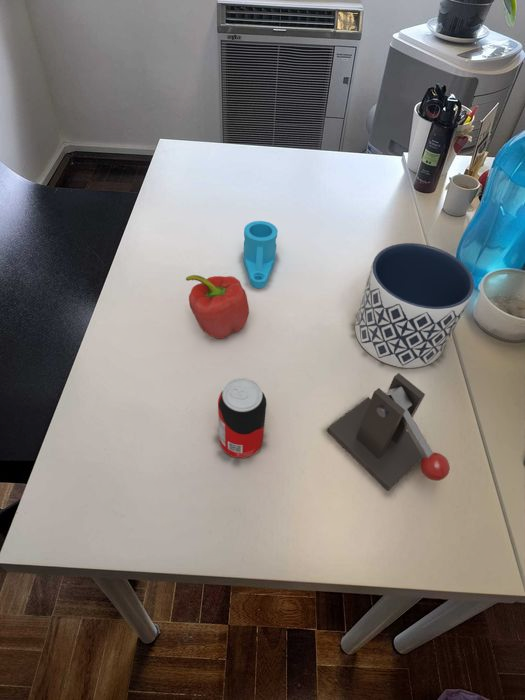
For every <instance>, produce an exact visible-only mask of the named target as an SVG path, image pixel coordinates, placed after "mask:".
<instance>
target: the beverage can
mask: <svg viewBox="0 0 525 700" xmlns="http://www.w3.org/2000/svg"><path fill="white" fill-rule="evenodd" d="M217 413H218V416H217V417H218V440H219V441H218V442H219V444H220V447H221V449H222V450H223V451H224V452H225V453H226V454H228V455H229V456H231V457H234V458H238V459H244V458H245V459H246V458H249V457H252V456H254V455H255V454H257V452H258V451H259V450H260V449H261V448H262V445H263V442H264V433H265V423H266V422H265V421H266V413H267V399H266V395H265V393H264V392H263V390H262V388H261V386H260V385H259V384H258V383H257V382H256V381H255V380H252V379H249V378H246V377H245V378H242V377H241V378H235V379H232V380H230V381H229V382H228V383H227V384H225V386H224V387H223V390H221V392H220V394H219V396H218V399H217Z"/></svg>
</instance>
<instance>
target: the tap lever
mask: <svg viewBox="0 0 525 700" xmlns="http://www.w3.org/2000/svg"><path fill="white" fill-rule="evenodd" d="M384 393H385V394H387V395H388V396H389V397H390V398H391V399H393V400H394V401H395V402H396V403H397V404H398V405H400V406H401V407H402V408H403V409H404V410H405V412H404V414H403V416H402V418H401V421H402V423H403V424H404V426H405V428H406V431H408V433H409V434H410V436H411V438H412V439H413V441H414V443H415V445H416V446H417V448H418V450H419V451H420V453H421V455H422V456H423V458H422V460H421V461H420V471H421V473H422V474H423V476H424V477H425V478H426V479H428V480H430V481H434V482H439V481H442V480H444V479H446V478H447V477H448V475H449V473H450V470H451V469H450V468H451V466H450V463H449V460H448V458H446V456H445V455H443V454H442V453H440V452H434V451H433V450H432V448H431V447H430V445H429V443H428V441H427V440H426V437H424V435H423V432H421V429H420V428H419V426H418V424H417V423H416V421H415V420H414V417H413V418H412V416H411V415H410V413H409V411H408V410H407V409H408V408H409V407H410V406H411V405H412V403H411V401H410V400H409V398H408V396H407V395H406V393H405V391H404V390H403V388H402V387H397V388H393V389H390V390H386V391H385V392H384Z"/></svg>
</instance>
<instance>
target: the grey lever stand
mask: <svg viewBox="0 0 525 700" xmlns="http://www.w3.org/2000/svg"><path fill="white" fill-rule="evenodd" d="M397 387H402V388H403V390H404V391H405V393H406V395H407V396H408V398H409V400H410V401H411V403H412V405H411V406H410V407H409V408H408V409H407V410H408V411H409V413H410V415H411V416H412V418H413V419H414V416H415V414H416V413H417V411H418V409H419V408H420V406H421V404H422V401H423V400H424V397H425V396H426V393H424V392H423V391H422V390H421V389H420V388H418V387H417V386H416V385H414V384H413V383H412V382H411V381H409V380H408V379H407V378H405V376H404V375H402V374H401V373H400V372H398V373H397V374H395V375H394V376H393V378H392V381H391V382H390V385H389V387H388V390H390V389H393V388H397ZM388 390H387V391H388ZM385 393H386V392H384V391H383V390H382V389H381V388H379V387H378V388H377V389H376V390H374V391H373V393H372V396H371V397H366V398H365V399H364V400H362V401H361V402H360V403H359V404H357V405H355V406H354V407H353V408H352V409H351V410H349V411H348V412H346V413H345V414H344V415H343V416H341V417H340V418H339V419H337V420H336V421H335V422H333V423H332V424H331V425H329V426H328V427H327V430H326V432H327V433H328V434H329V435H330V436H331V438H333V439H334V440H335V442H337V443H338V444H339V445H340V446H341V447H342V448H343V449H344V450H345V451H346V452H347V453H348V454H349V455H350V456H351V457H352V458H353V459H354V460H355V461H356V462H357V463H358V464H359V465H360V466H361V467H362V468H363V469H365V471H367V473H369V475H370V476H372V477H373V479H375V480H376V481H377V482H378V483H379V484H380V485H381V486H382V487H383V488H384V489H385V490H386V491H387V492H388V491H389V490H391V489H392V488H393V487H394V486H395V485H396V484H397V483H398V482H400V481H401V480H402V479H403V478H404V477H405V476H406V475H408V473H409V472H410V471H411V470H413V469H414V468H415V467H416V466H417V465H418V464H419V463H421V460H422V458H423V456H422V455H421V453H420V451H419V450H418V448H417V446H416V445H415V443H414V441H413V439H412V438H411V436H410V434H409V433H408V431H407V429H406V428H405V426H404V424H403V423H402V421H401V418H402V416H403V414H404V412H405V410H404V409H403V408H402V407H401V406H400V405H398V404H397V403H396V402H395V401H394V400H393V399H391V398H390V397H389V396H388V395H387V394H385Z"/></svg>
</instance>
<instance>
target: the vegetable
mask: <svg viewBox="0 0 525 700" xmlns="http://www.w3.org/2000/svg"><path fill="white" fill-rule="evenodd" d="M185 280H186V281H188V282H189V281H197V282H200V283H197V284H195V285H194V286H193V287H192V288H191V290H190V293H189V294H188V304H189V308H190V309H191V312H192V314H193V315H194V317H195V320H196V322H197V324H198V325H199V327H200V329H201V330H202V331H203V332H205V334H207V335H208V336H210V337H212V338H217V339H224V338H227V337H228V336H229V335H230V334H231V333H234V332H239V331H240V330H242V329H243V328H244V327H245V325H247V321H248V318H249V315H250V307H249V301H248V297H247V293H246V290H245V289H244V288H243V286H242V284H241V281H240V280H239V279H238V278H236V276H231V275H229V276H223V275H217V276H216V275H214V276H210V277H208V278H205V277H204V276H202V275H197V274H192V275H191V274H190V275H189V276H187V277H185Z"/></svg>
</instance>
